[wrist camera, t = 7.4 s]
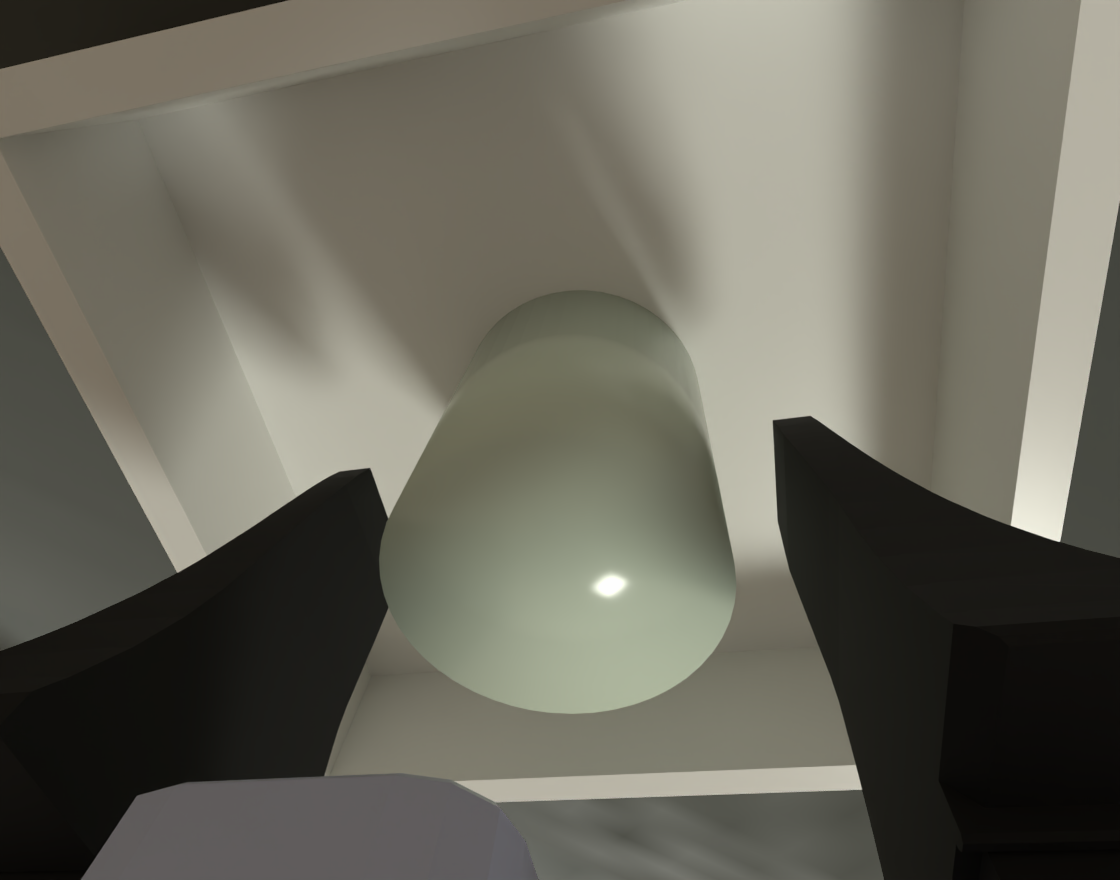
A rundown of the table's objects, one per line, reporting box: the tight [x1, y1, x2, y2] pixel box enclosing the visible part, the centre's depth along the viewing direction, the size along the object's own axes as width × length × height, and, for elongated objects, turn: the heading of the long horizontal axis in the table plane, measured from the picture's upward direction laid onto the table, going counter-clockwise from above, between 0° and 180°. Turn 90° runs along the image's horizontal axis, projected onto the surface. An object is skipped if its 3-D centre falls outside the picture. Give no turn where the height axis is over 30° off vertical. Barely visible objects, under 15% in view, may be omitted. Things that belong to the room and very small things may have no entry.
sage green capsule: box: [379, 290, 736, 714], centre depth 13 cm, size 5×5×6 cm
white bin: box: [0, 0, 1120, 802], centre depth 14 cm, size 16×16×4 cm
